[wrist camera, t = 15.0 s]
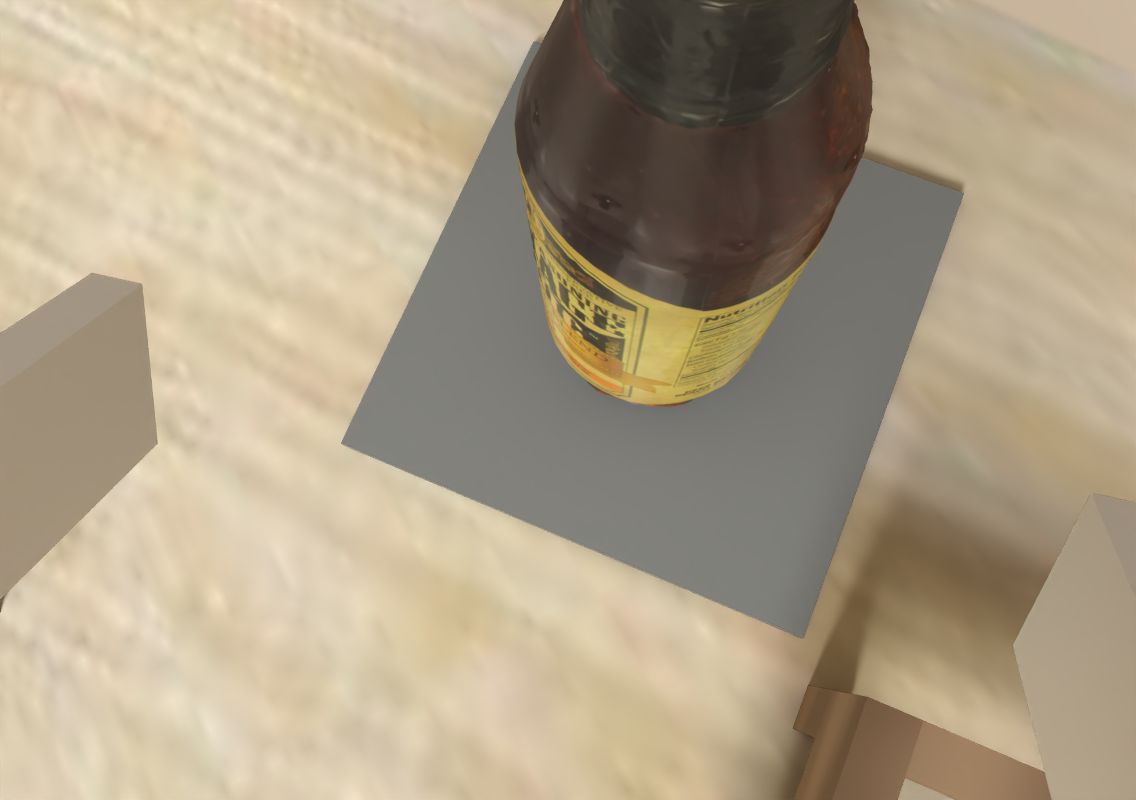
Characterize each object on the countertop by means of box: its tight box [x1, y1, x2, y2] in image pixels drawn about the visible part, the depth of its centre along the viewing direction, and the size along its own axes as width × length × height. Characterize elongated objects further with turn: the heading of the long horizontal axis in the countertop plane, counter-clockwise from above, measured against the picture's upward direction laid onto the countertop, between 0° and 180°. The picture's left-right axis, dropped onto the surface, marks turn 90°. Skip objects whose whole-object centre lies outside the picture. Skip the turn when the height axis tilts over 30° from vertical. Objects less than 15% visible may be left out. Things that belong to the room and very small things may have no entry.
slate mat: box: [341, 42, 964, 638], centre depth 30 cm, size 14×14×1 cm
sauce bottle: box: [514, 0, 873, 407], centre depth 20 cm, size 7×6×20 cm
